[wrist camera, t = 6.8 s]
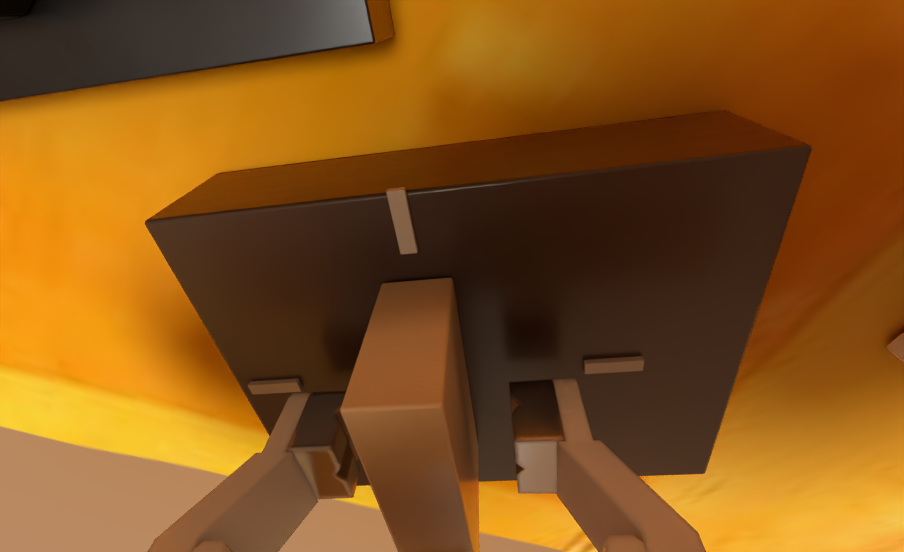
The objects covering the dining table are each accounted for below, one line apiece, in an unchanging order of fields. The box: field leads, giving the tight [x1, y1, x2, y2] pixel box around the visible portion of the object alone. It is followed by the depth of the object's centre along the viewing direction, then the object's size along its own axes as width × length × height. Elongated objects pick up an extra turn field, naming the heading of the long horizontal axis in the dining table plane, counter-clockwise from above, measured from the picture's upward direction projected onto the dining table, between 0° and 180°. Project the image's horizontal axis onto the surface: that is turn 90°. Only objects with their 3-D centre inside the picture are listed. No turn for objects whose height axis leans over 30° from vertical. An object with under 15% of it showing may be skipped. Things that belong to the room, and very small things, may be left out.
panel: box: [145, 110, 811, 486], centre depth 12 cm, size 13×10×3 cm
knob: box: [340, 278, 479, 552], centre depth 9 cm, size 6×2×4 cm, turn 7°
